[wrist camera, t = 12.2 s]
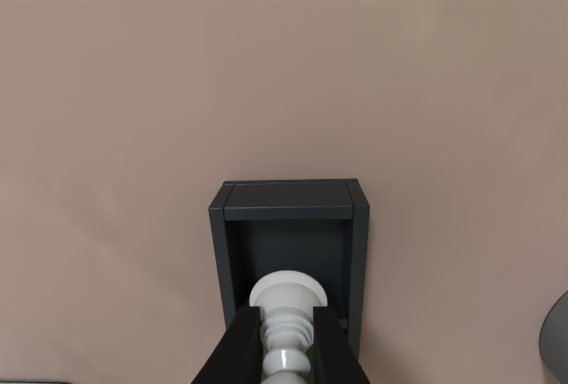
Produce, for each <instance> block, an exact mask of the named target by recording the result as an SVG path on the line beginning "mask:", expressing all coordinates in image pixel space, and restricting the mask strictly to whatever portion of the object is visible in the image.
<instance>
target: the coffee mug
mask: <svg viewBox="0 0 568 384" xmlns="http://www.w3.org/2000/svg"><path fill="white" fill-rule="evenodd" d="M540 350H541V354H542V358H543V360H544V362H545V363H546V365H547V367H548V368H549V369H550V370H551V372H552V373H553V374H554V375H555V377H556V378H557V379H558V380H559V381H560V383H561V384H568V292H567V293H566V294H565V295H564V296H563V297H562V298H561V299H560V300H559V302H558V303H557V304H556V305H555V306H554V308H553V309H552V311H551V312H550V313H549V315H548V317H547V319H546V321H545V323H544V326H543V328H542V332H541V337H540Z"/></svg>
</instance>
